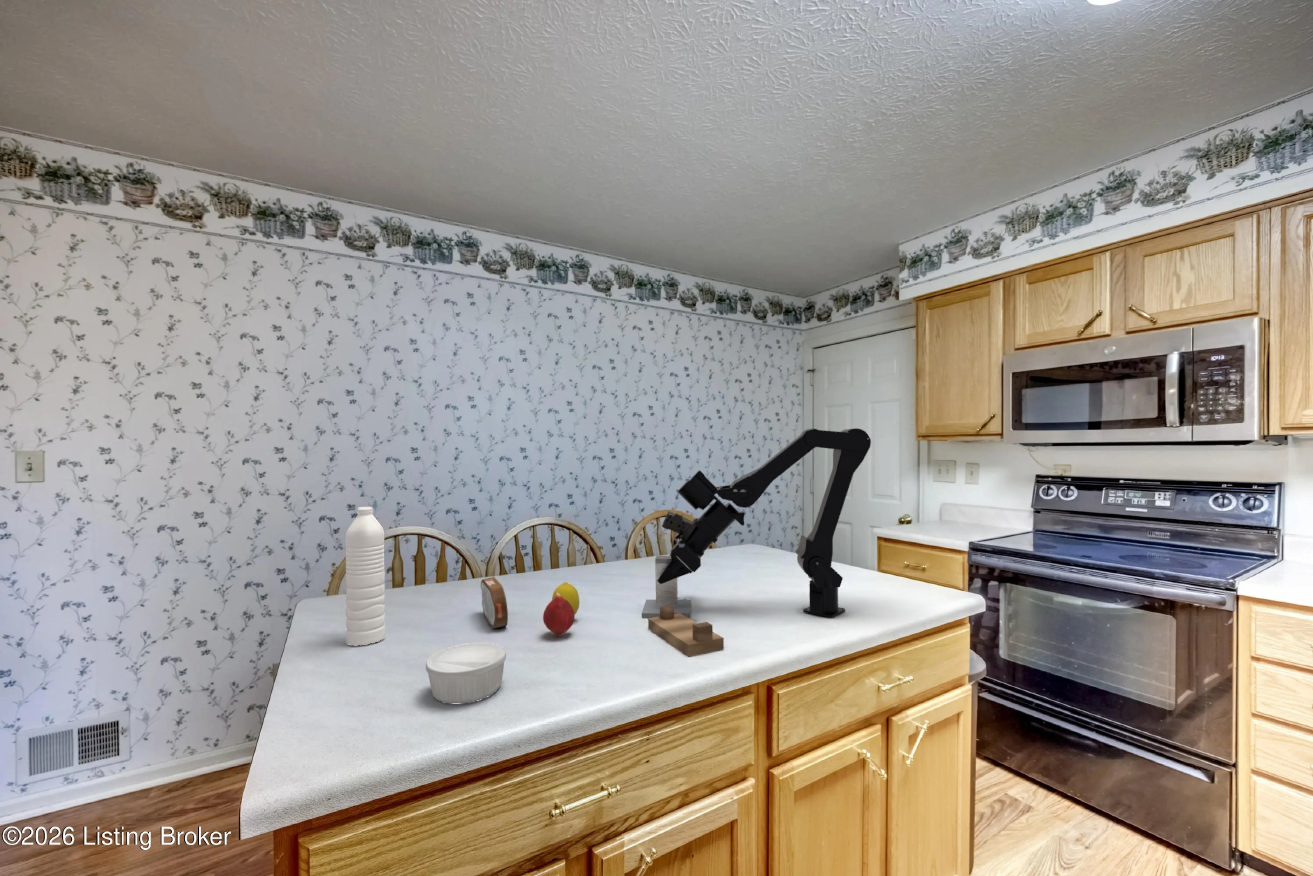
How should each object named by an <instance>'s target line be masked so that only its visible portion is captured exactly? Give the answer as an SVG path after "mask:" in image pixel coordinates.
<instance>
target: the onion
mask: <svg viewBox="0 0 1313 876" xmlns="http://www.w3.org/2000/svg"><path fill="white" fill-rule="evenodd" d="M575 615H576V614H574V609H573V607H572V606H571V605H570V603H569V602H568V601H567V600H566V599H564V598H563V597H562V596H560V594H559V593H556V596H555V599H553V600H552V599H551V600H550V601H549V603H548V604H547V605H546V606H545V608H544V611H543V614H542V620H543V623H544V625H545V627H546V628H547V629H548V630H549V631H550V632H551V633H552V634H554V635H555V636H556V637H560V636H562V635H564V634H565V633H566V632H568V630H569V629H571V627H572V626H573V624H574V623H575Z"/></svg>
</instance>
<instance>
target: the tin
mask: <svg viewBox="0 0 1313 876" xmlns="http://www.w3.org/2000/svg"><path fill="white" fill-rule="evenodd" d="M480 589H481V599H482V600H481V606H482V611H483V615H484V618H486V620H487V622H488V623H489V625H490V626H491V628H492V629H499V628H504V626H505V627H507V626H508V619H509V612H508V611H509V610H508V602H507V598H506V597H507V596H506V593H505V589H504V587H503V584H501V582H500V581H499V580H498V579H497V578H496V577H495V576H492V577H487V578H483V579H481V581H480Z"/></svg>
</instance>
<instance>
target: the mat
mask: <svg viewBox="0 0 1313 876" xmlns="http://www.w3.org/2000/svg"><path fill="white" fill-rule="evenodd" d="M691 609H692V600H691V599H678V607H677V609H674V614H678V613H680V614H682V615H684V616H686V617H688V618H689V619H691V615H692V614H691V613H692V612H691V611H692V610H691ZM654 617H660V608H656V599H645V602H644V606H643V608H642V612H641V619H648V618H654Z"/></svg>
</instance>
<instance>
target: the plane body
mask: <svg viewBox="0 0 1313 876" xmlns="http://www.w3.org/2000/svg"><path fill="white" fill-rule="evenodd" d="M647 624H648V625H647V626H648V627H647V628H648V630H650V631H651V633H654V634H655V635H656V636H658V637H659V638H661V639H662V640H664V641H665V642H667V643H668V644H670V645H671V646H672V647H674V648H675V649H677V650H678V651H680V652H681V653H683V654H684V655H685V656H687V657H694V656H698V655H704V654H709V653H713V652H718V651H723V650H724V649H725V647H724V646H725V643H724V642H725V641H724V639H725V638H724V637H723V636H721V635H720V634H718V633H716V632H714V631H713V624H711V623H710V622H708V621H703V622H696V621H694V620H693V619H691V618H688V617H686V616H684V615H682V614H680V613H678V614H674V606H671V605H663V606H660V617H654V618H647Z"/></svg>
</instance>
